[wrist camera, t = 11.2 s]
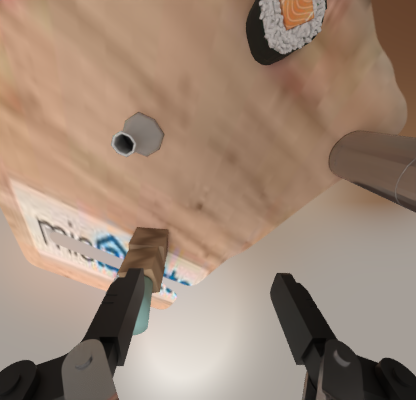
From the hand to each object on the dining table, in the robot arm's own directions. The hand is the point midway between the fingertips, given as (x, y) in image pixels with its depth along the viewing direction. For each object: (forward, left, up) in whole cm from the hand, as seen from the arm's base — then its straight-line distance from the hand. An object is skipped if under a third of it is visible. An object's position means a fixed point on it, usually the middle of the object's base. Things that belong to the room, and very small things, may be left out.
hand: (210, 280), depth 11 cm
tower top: (+10, +20, -22) cm, 31 cm away
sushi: (-9, -21, -28) cm, 36 cm away
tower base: (+10, +20, -28) cm, 36 cm away
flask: (+11, -4, -28) cm, 31 cm away
